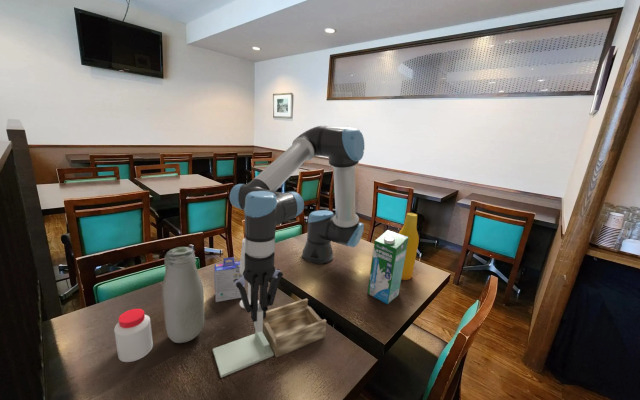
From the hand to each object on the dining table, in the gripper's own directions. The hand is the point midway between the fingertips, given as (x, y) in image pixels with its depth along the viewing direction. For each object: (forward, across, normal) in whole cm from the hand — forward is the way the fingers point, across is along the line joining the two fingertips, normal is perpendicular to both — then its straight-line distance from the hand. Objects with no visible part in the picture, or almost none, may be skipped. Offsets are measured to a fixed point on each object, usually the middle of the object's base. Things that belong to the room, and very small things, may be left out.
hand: (258, 328), depth 74 cm
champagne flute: (+6, -4, -20) cm, 21 cm away
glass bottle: (+6, +17, -13) cm, 22 cm away
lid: (+7, +4, 0) cm, 8 cm away
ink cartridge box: (+6, +1, -27) cm, 28 cm away
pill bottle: (+6, +29, -14) cm, 33 cm away
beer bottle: (+6, -71, -9) cm, 72 cm away
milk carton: (+6, -52, -2) cm, 52 cm away
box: (+6, -11, 0) cm, 13 cm away
